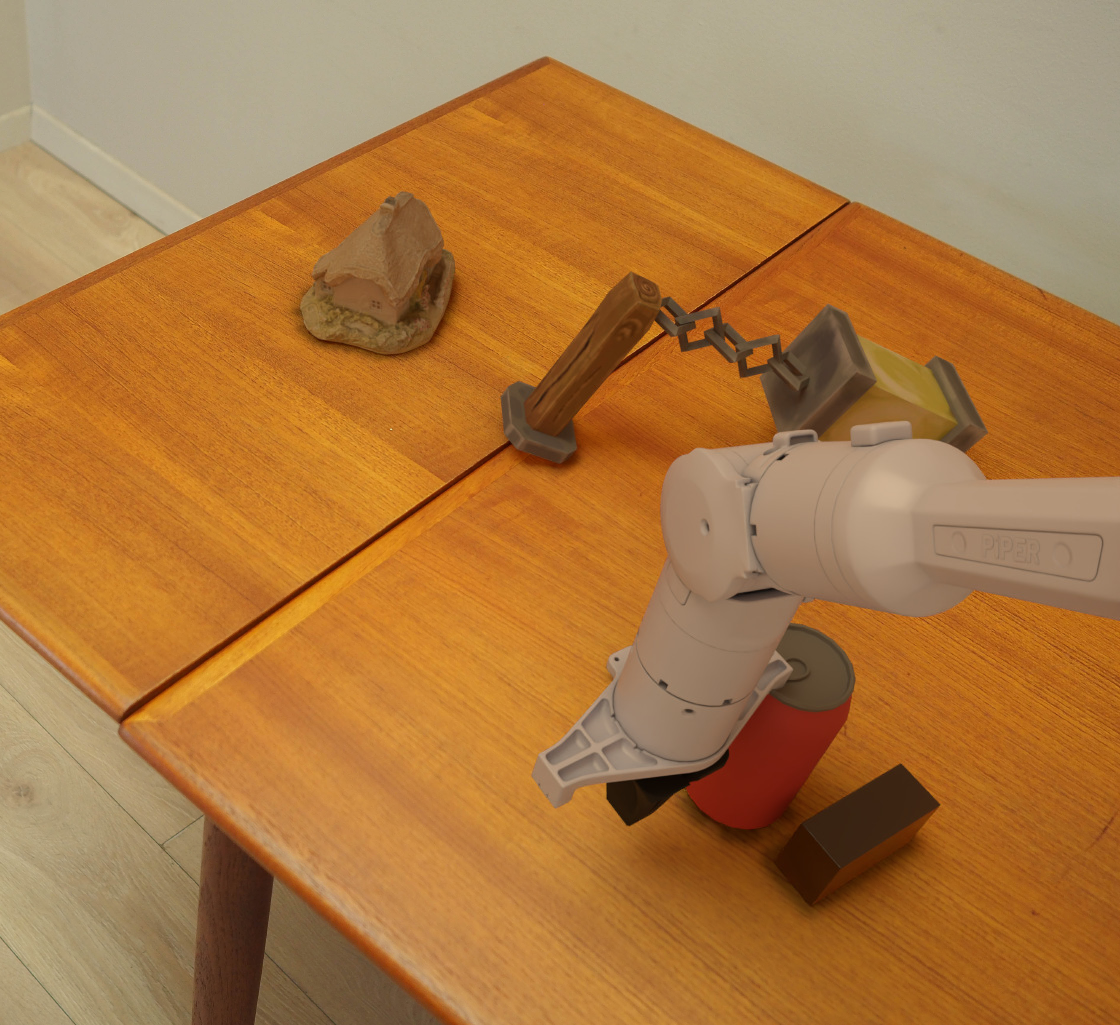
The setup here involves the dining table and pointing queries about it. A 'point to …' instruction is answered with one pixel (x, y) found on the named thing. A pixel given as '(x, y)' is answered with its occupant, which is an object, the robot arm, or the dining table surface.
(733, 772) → the beer can
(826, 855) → the walnut block
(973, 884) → the dining table surface
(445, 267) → the ceramic model
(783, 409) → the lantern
